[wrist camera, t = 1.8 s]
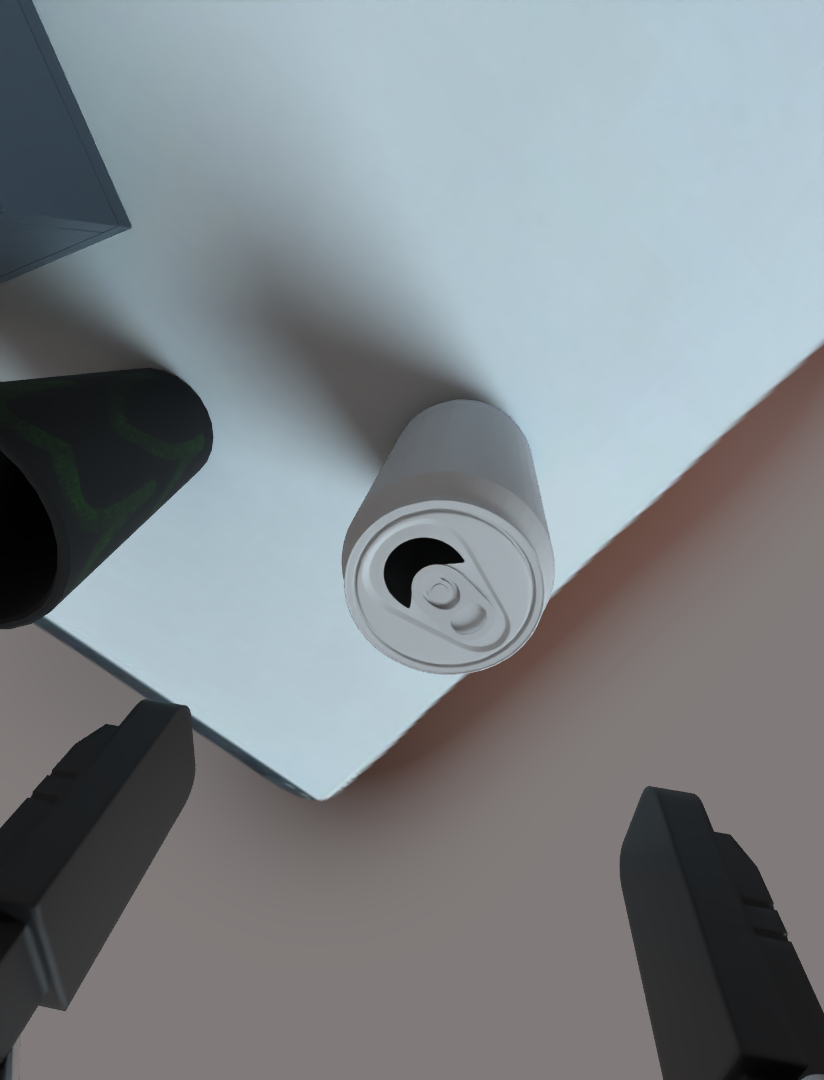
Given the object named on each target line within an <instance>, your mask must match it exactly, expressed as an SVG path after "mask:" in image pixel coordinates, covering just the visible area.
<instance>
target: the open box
mask: <svg viewBox="0 0 824 1080" xmlns="http://www.w3.org/2000/svg"><path fill="white" fill-rule="evenodd" d="M130 228H131V224H130V222H129V219H128V217H127V215H126V213H125V210H124V208H123V206H122V204H121V201H120V199H119V197H118V194H117V192H116V190H115V188H114V185H113V183H112V181H111V179H110V176H109V174H108V172H107V170H106V167H105V165H104V163H103V161H102V158H101V156H100V154H99V152H98V149H97V147H96V145H95V142H94V140H93V138H92V136H91V133H90V131H89V129H88V127H87V124H86V122H85V120H84V118H83V115H82V113H81V111H80V109H79V106H78V104H77V102H76V100H75V97H74V95H73V93H72V90H71V88H70V86H69V84H68V81H67V79H66V77H65V75H64V72H63V70H62V68H61V66H60V63H59V61H58V59H57V57H56V54H55V52H54V50H53V48H52V45H51V43H50V41H49V38H48V36H47V34H46V32H45V29H44V27H43V25H42V23H41V20H40V18H39V16H38V14H37V11H36V9H35V7H34V5H33V2H32V0H0V283H2V282H5V281H7V280H9V279H12V278H14V277H17V276H19V275H21V274H24V273H26V272H28V271H31V270H33V269H35V268H38V267H40V266H43V265H45V264H47V263H50V262H52V261H54V260H57V259H59V258H61V257H64V256H66V255H68V254H71V253H73V252H76V251H78V250H80V249H83V248H85V247H87V246H90V245H92V244H94V243H97V242H99V241H102V240H104V239H106V238H109V237H111V236H113V235H116V234H118V233H120V232H123V231H125V230H127V229H130Z"/></svg>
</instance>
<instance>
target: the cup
mask: <svg viewBox="0 0 824 1080" xmlns="http://www.w3.org/2000/svg"><path fill="white" fill-rule="evenodd" d="M212 443H213V431H212V423H211V420H210V417H209V414H208V411H207V409H206V408H205V406H204V404H203V403H202V401H201V399H200V397H199V396H198V395H197V394H196V393H195V392H194V391H193V390H192V388H191V387H190V386H189V385H187V384H186V383H185V382H183V381H182V380H181V379H179V378H178V377H176V376H174V375H172V374H170V373H168V372H165V371H163V370H158V369H153V368H141V369H129V370H119V371H109V372H99V373H88V374H78V375H68V376H58V377H48V378H37V379H27V380H17V381H7V382H0V629H12V628H16V627H20V626H24V625H28V624H32V623H33V622H35V621H37V620H38V619H40V618H41V617H43V616H45V615H46V614H48V613H50V612H51V611H52V610H53V609H54V608H55V607H56V606H57V605H58V604H59V603H60V602H61V601H62V600H63V599H64V598H65V597H66V596H67V595H69V594H70V593H71V592H72V591H73V590H74V589H75V588H76V587H77V586H78V585H79V584H80V583H81V582H82V581H83V580H84V579H85V578H86V577H88V576H89V575H90V574H91V573H92V572H93V571H94V570H95V569H96V568H97V567H98V566H99V565H100V564H101V563H102V562H103V561H104V560H105V559H107V558H108V557H109V556H110V555H111V554H112V553H113V552H114V551H115V550H116V549H117V548H118V547H119V546H120V545H121V544H122V543H123V542H124V541H125V540H127V539H128V538H129V537H130V536H131V535H132V534H133V533H134V532H135V531H136V530H137V529H138V528H139V527H140V526H141V525H142V524H143V523H144V522H146V521H147V520H148V519H149V518H150V517H151V516H152V515H153V514H154V513H155V512H156V511H157V510H158V509H159V508H160V507H161V506H162V505H163V504H165V503H166V502H167V501H168V500H169V499H170V498H171V497H172V496H173V495H174V494H175V493H176V492H177V491H178V490H179V489H180V488H181V487H182V486H183V485H185V484H186V483H187V482H188V481H189V480H190V479H191V478H192V477H193V476H194V475H195V474H196V473H197V472H198V471H199V470H200V469H201V468H202V467H203V465H204V464H205V463H206V462H207V460H208V458H209V455H210V453H211V451H212Z"/></svg>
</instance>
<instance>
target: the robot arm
mask: <svg viewBox="0 0 824 1080" xmlns="http://www.w3.org/2000/svg"><path fill="white" fill-rule="evenodd" d="M194 776H195V757H194V745H193V734H192V723H191V713H190V709H189V708H188V707H187V706H185V705H179V704H173V703H167V702H161V701H156V700H150V699H144V700H142V701H140V702H139V703H138V704H137V705H136V706H135V707H134V709H133V710H132V711H131V712H130V713H129V715H128V716H127V717H126V718H125V719H124V721H123V722H122V723H121V724H120V725H119V726H115V725H108V724H105V725H104V726H102V727H101V728H99V729H98V730H96V731H95V732H93V733H91V734H90V735H88V736H87V737H85V738H84V739H82V740H81V741H79V742H78V743H76V744H75V745H74V746H73V747H72V748H71V749H70V750H69V752H68V753H67V754H66V755H65V756H64V757H63V758H62V760H61V761H60V762H59V763H58V764H57V765H56V766H55V768H53V770H52V773H51V775H50V776H48V775H47V776H46V778H45V779H44V780H43V781H42V782H41V783H40V784H39V785H38V786H37V788H36V789H35V790H34V791H33V794H32V796H31V798H27V799H26V800H25V801H24V802H23V803H22V804H21V806H20V807H19V808H18V809H17V810H16V811H15V813H13V815H12V816H11V817H10V818H9V819H8V820H7V821H6V822H5V824H4V825H3V826H2V827H1V828H0V1080H20V1034H21V1032H22V1031H23V1029H24V1028H25V1026H26V1024H27V1023H28V1021H29V1020H30V1018H31V1016H32V1014H33V1013H34V1011H35V1010H36V1008H37V1007H38V1005H39V1006H43V1007H48V1008H53V1009H58V1010H62V1011H66V1009H67V1007H68V1006H69V1004H70V1002H71V1000H72V999H73V997H74V995H75V994H76V992H77V990H78V988H79V987H80V985H81V983H82V981H83V980H84V978H85V976H86V975H87V973H88V971H89V969H90V968H91V966H92V964H93V962H94V961H95V959H96V957H97V956H98V954H99V952H100V950H101V949H102V947H103V945H104V943H105V942H106V940H107V938H108V937H109V935H110V933H111V931H112V929H113V928H114V926H115V924H116V923H117V921H118V919H119V918H120V916H121V914H122V912H123V910H124V909H125V907H126V905H127V904H128V902H129V900H130V898H131V897H132V895H133V893H134V892H135V890H136V888H137V886H138V885H139V883H140V881H141V880H142V878H143V876H144V874H145V873H146V871H147V869H148V867H149V866H150V864H151V862H152V860H153V859H154V857H155V855H156V854H157V852H158V850H159V848H160V847H161V845H162V843H163V841H164V840H165V838H166V836H167V834H168V832H169V831H170V829H171V828H172V826H173V824H174V823H175V821H176V819H177V817H178V816H179V814H180V812H181V810H182V809H183V807H184V805H185V803H186V801H187V799H188V797H189V794H190V792H191V789H192V785H193V781H194ZM620 880H621V886H622V891H623V896H624V901H625V905H626V909H627V914H628V919H629V924H630V928H631V933H632V937H633V942H634V946H635V951H636V956H637V960H638V965H639V970H640V974H641V979H642V983H643V988H644V993H645V997H646V1002H647V1006H648V1011H649V1016H650V1020H651V1025H652V1029H653V1034H654V1039H655V1043H656V1048H657V1053H658V1057H659V1062H660V1066H661V1071H662V1075H663V1080H824V1013H823V1011H822V1008H821V1006H820V1004H819V1002H818V1000H817V997H816V995H815V993H814V991H813V989H812V986H811V984H810V982H809V980H808V978H807V975H806V973H805V971H804V969H803V967H802V964H801V962H800V960H799V958H798V956H797V954H796V951H795V949H794V947H793V945H792V943H791V942H789V941H788V939H787V931H786V929H785V927H784V925H783V923H782V921H781V918H780V916H779V914H778V912H777V910H774V908H773V904H774V903H773V901H772V898H771V896H770V894H769V892H768V890H767V887H766V885H765V883H764V881H763V879H762V876H761V874H760V872H759V870H758V868H757V866H756V865H755V864H754V863H753V861H752V860H751V859H750V858H749V857H748V855H747V854H746V853H745V852H744V851H743V849H742V848H741V847H740V846H739V845H738V843H737V842H736V841H735V840H734V839H733V837H732V836H731V835H729V834H723V833H718V832H714V831H713V828H712V826H711V823H710V821H709V818H708V816H707V814H706V811H705V808H704V806H703V804H702V802H701V800H700V799H699V797H698V796H697V795H695V794H692V793H686V792H680V791H674V790H668V789H663V788H657V787H651V786H648V787H646V788H645V789H644V791H643V793H642V795H641V798H640V800H639V803H638V805H637V808H636V811H635V813H634V816H633V818H632V821H631V823H630V826H629V829H628V831H627V834H626V836H625V839H624V842H623V844H622V848H621V854H620Z"/></svg>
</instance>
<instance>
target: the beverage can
mask: <svg viewBox="0 0 824 1080" xmlns="http://www.w3.org/2000/svg"><path fill="white" fill-rule="evenodd" d="M342 573H343V578H344V588H345V597H346V601H347V605H348V608H349V611H350V614H351V616H352V618H353V620H354V622H355V624H356V626H357V627H358V629H359V630H360V631H361V633H362V634H363V635H364V637H365V638H366V639H367V640H368V641H369V642H370V643H371V644H372V645H373V646H374V647H375V648H376V649H378V650H379V651H380V652H382V653H383V654H384V655H386V656H387V657H389V658H391V659H392V660H394V661H396V662H398V663H400V664H402V665H404V666H407V667H409V668H412V669H415V670H419V671H423V672H427V673H433V674H442V675H456V674H467V673H472V672H477V671H480V670H484V669H487V668H489V667H492V666H494V665H497V664H499V663H500V662H502V661H504V660H506V659H507V658H509V657H510V656H512V655H513V654H514V653H515V652H517V651H518V650H519V649H520V648H521V647H522V646H523V645H524V644H525V643H526V641H528V639H529V638H530V637H531V635H532V634H533V632H534V630H535V629H536V627H537V625H538V623H539V621H540V618H541V615H542V613H543V611H544V609H545V607H546V605H547V603H548V601H549V598H550V595H551V592H552V588H553V583H554V575H555V564H554V555H553V549H552V545H551V540H550V536H549V531H548V527H547V522H546V518H545V513H544V509H543V504H542V499H541V495H540V490H539V486H538V481H537V477H536V472H535V468H534V463H533V459H532V454H531V450H530V447H529V444H528V442H527V439H526V437H525V436H524V434H523V432H522V431H521V429H520V428H519V426H518V425H517V424H516V423H515V422H514V421H513V420H512V419H511V418H510V417H509V416H508V415H507V414H505V413H504V412H502V411H501V410H499V409H497V408H495V407H494V406H491V405H489V404H486V403H483V402H479V401H474V400H451V401H447V402H443V403H439V404H436V405H433V406H431V407H429V408H427V409H426V410H424V411H422V412H421V413H419V414H418V415H417V416H416V417H414V418H413V419H412V420H411V421H410V422H409V424H408V425H407V426H406V427H405V428H404V430H403V431H402V433H401V435H400V436H399V438H398V440H397V442H396V444H395V445H394V447H393V449H392V451H391V453H390V454H389V456H388V458H387V460H386V461H385V463H384V465H383V467H382V469H381V470H380V472H379V474H378V476H377V478H376V479H375V481H374V483H373V485H372V487H371V488H370V490H369V492H368V494H367V496H366V497H365V499H364V501H363V503H362V504H361V506H360V508H359V510H358V512H357V513H356V515H355V517H354V519H353V521H352V522H351V524H350V526H349V528H348V531H347V534H346V537H345V540H344V545H343V551H342Z"/></svg>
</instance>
